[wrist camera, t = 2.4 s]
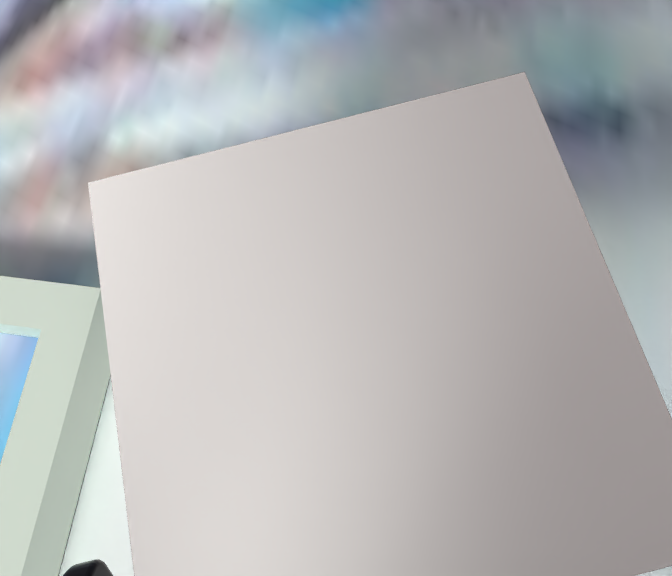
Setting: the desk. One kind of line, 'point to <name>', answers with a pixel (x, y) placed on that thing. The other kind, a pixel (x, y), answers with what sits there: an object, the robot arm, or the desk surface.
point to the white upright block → (379, 356)
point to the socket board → (50, 419)
